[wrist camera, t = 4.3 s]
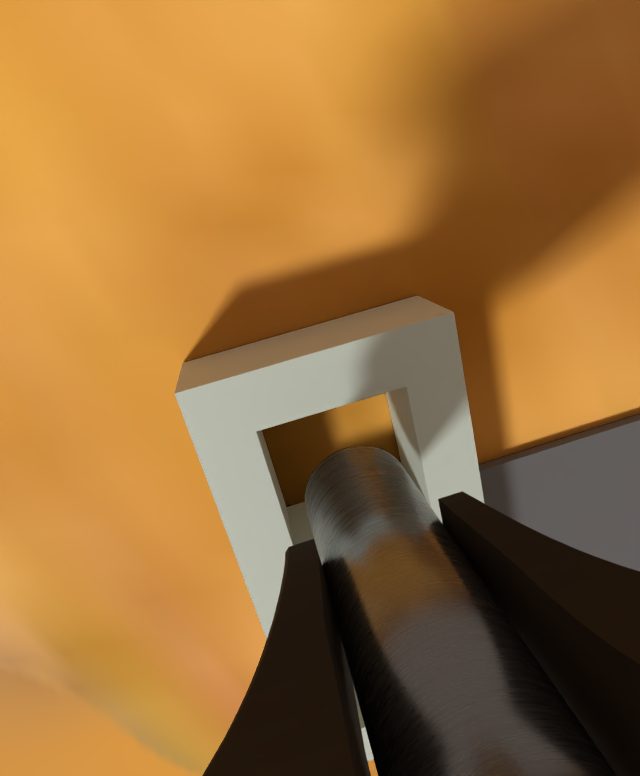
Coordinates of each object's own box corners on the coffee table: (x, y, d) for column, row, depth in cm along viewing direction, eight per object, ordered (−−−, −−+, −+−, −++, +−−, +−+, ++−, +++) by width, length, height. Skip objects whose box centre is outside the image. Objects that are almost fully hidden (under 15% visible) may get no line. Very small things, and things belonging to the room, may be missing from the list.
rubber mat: (707, 587, 24) (715, 592, 24) (505, 657, 24) (510, 664, 23) (711, 391, 21) (720, 394, 21) (474, 466, 20) (479, 471, 20)
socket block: (482, 648, 23) (517, 708, 20) (307, 707, 23) (318, 778, 20) (417, 295, 18) (454, 311, 15) (182, 362, 17) (174, 393, 14)
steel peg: (420, 516, 16) (650, 878, 7) (325, 555, 15) (445, 969, 7) (391, 429, 14) (623, 734, 6) (289, 470, 14) (380, 839, 6)
